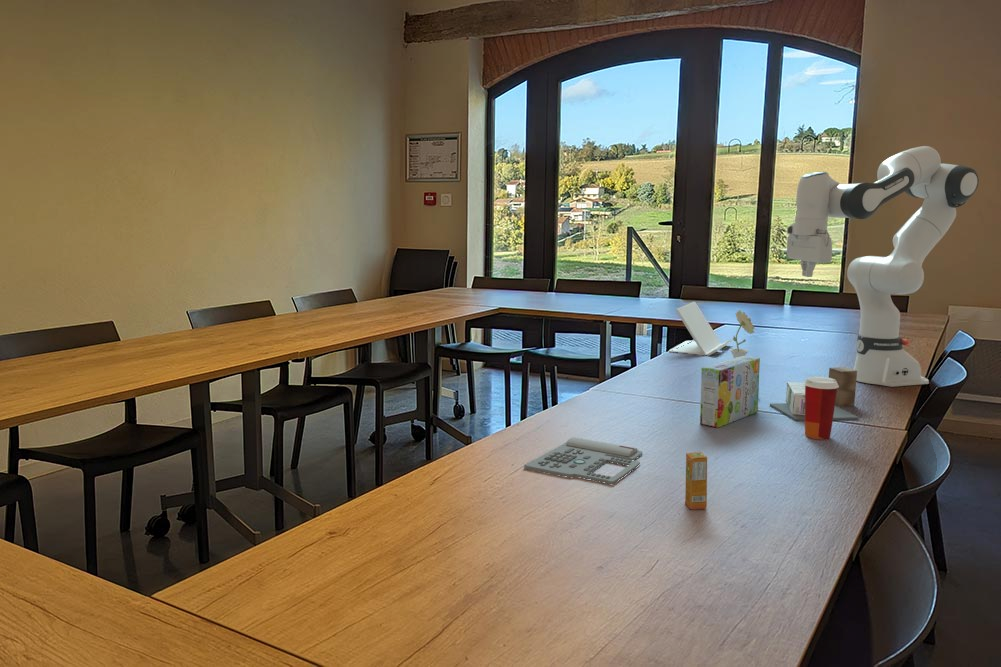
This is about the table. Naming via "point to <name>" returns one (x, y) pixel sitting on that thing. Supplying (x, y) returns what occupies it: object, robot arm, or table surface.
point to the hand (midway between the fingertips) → (807, 276)
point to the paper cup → (819, 406)
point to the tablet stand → (697, 332)
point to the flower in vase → (748, 327)
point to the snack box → (729, 390)
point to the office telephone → (585, 459)
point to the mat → (783, 407)
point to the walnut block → (844, 385)
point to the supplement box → (696, 480)
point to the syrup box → (796, 398)
